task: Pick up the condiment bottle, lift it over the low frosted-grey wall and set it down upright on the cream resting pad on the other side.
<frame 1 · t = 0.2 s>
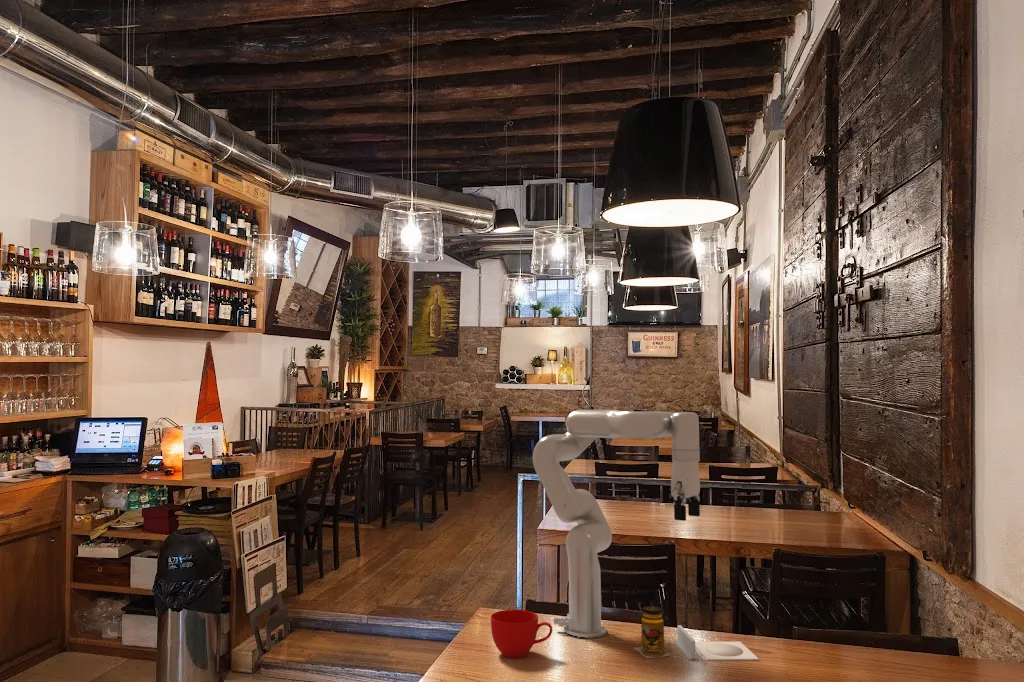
hand: (687, 517, 198), 36 cm above the table, tool pointing down, fingers open, 9 cm apart
low wall: (686, 651, 195), on the table
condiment: (652, 653, 195), on the table
resting pad: (724, 651, 196), on the table
ceramic cup: (521, 655, 193), on the table
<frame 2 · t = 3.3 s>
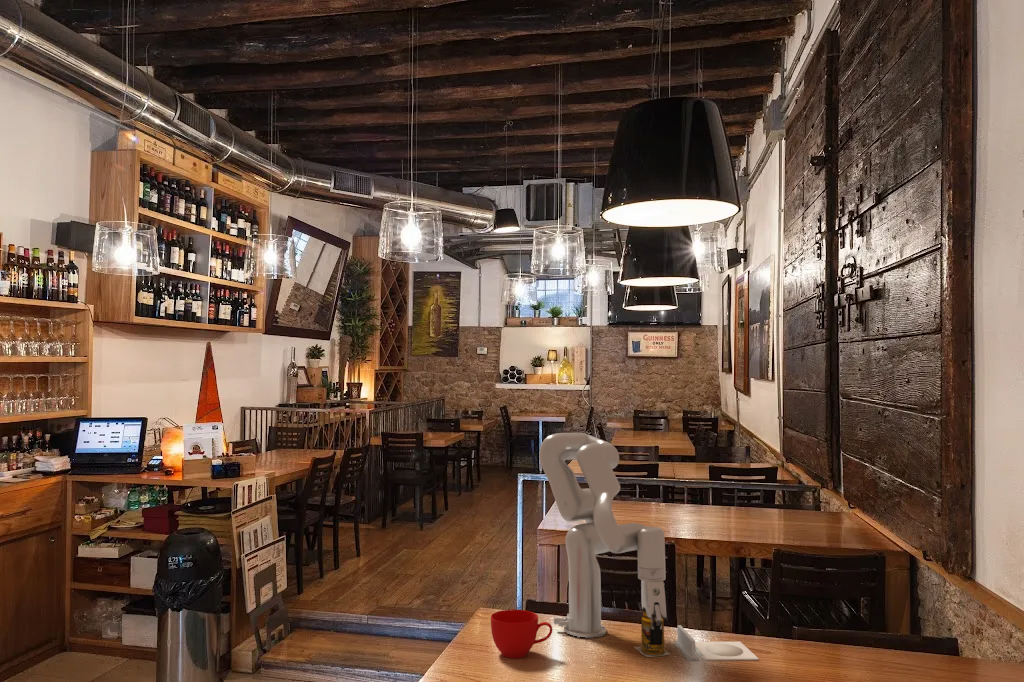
hand: (653, 639, 195), 3 cm above the table, tool pointing down, fingers closed on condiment, 6 cm apart
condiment: (652, 652, 195), on the table, touching gripper
everything else where it was.
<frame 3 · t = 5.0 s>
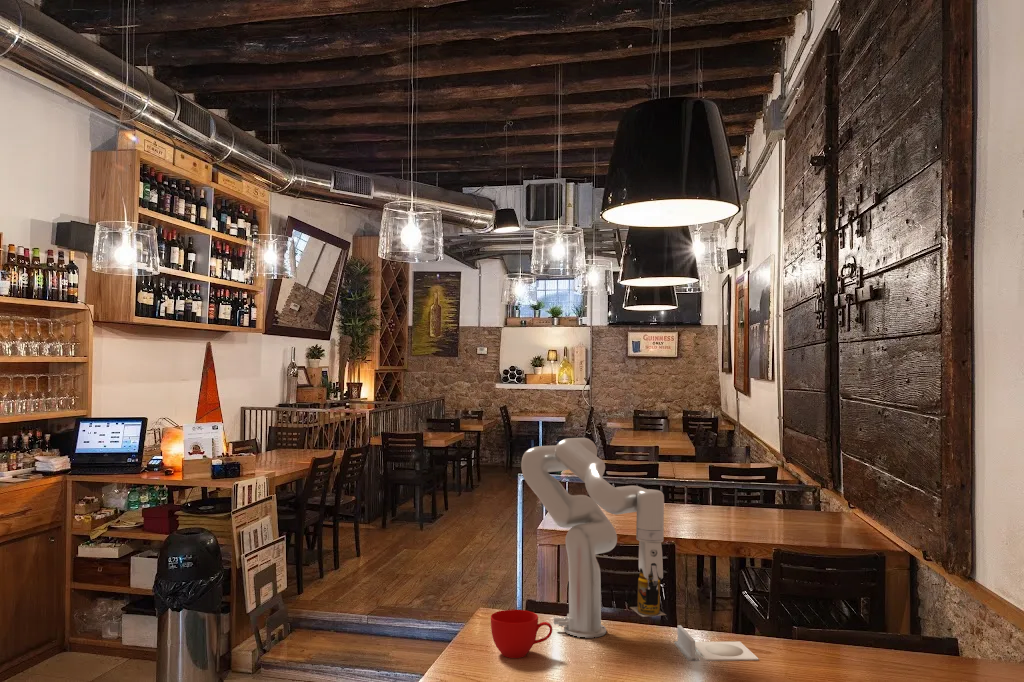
hand: (648, 600, 197), 14 cm above the table, tool pointing down, fingers closed on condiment, 6 cm apart
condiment: (647, 612, 197), point 10 cm above the table, touching gripper
everything else where it was.
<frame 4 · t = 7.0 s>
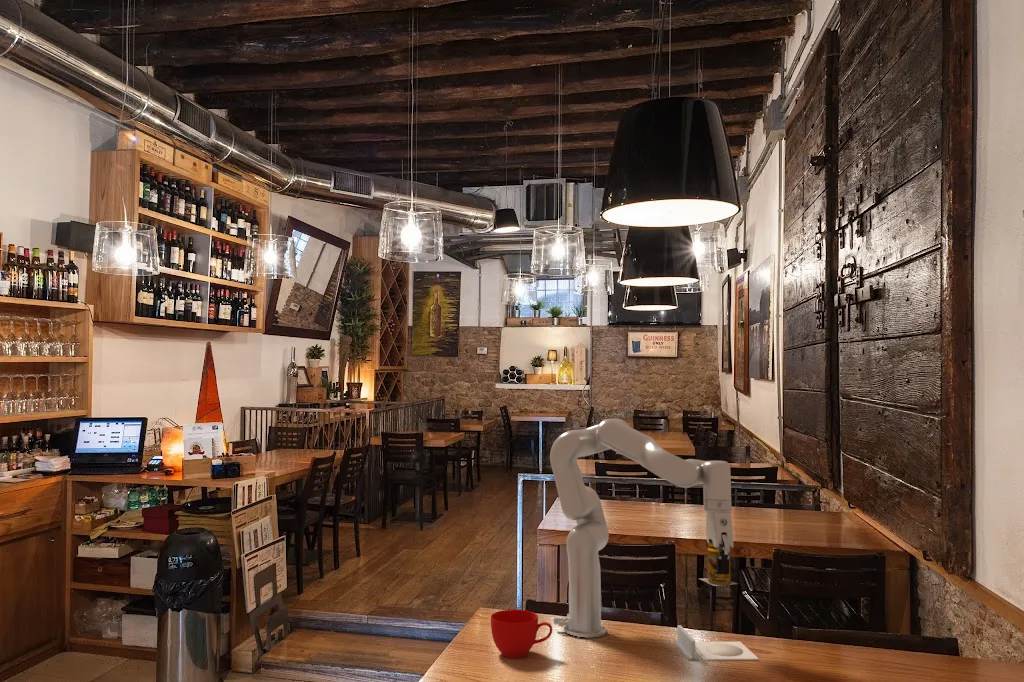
hand: (719, 570, 198), 22 cm above the table, tool pointing down, fingers closed on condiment, 6 cm apart
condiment: (718, 582, 198), point 18 cm above the table, touching gripper
everything else where it was.
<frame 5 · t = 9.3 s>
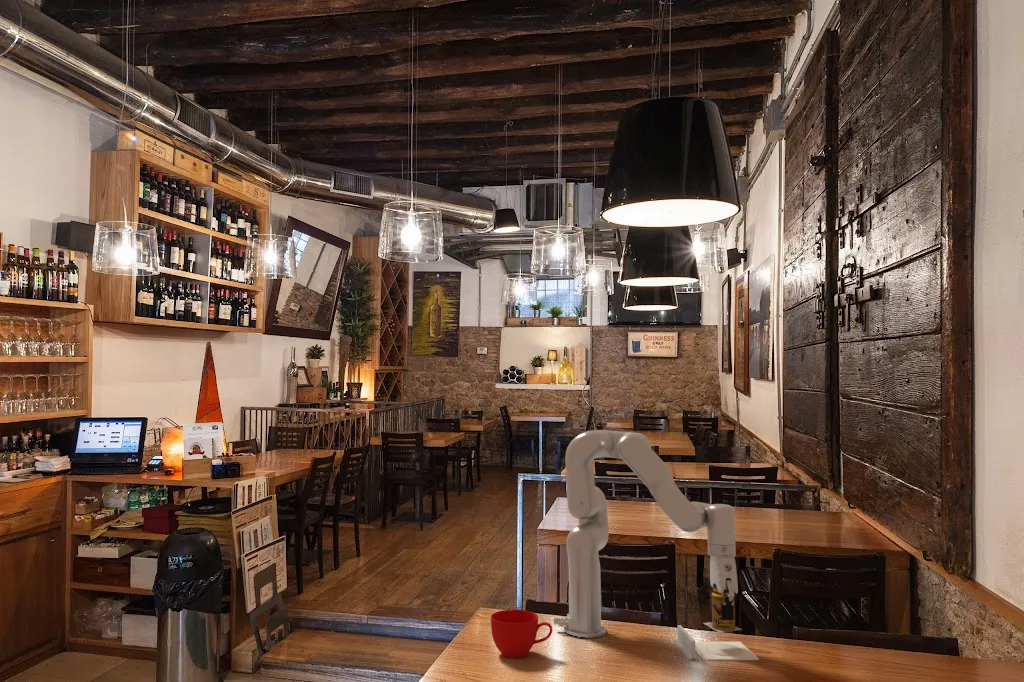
hand: (723, 615, 196), 10 cm above the table, tool pointing down, fingers closed on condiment, 6 cm apart
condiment: (722, 627, 197), point 6 cm above the table, touching gripper
everything else where it was.
when the fingers open (5 cm above the table, at t = 10.8 s): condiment drops 1 cm, resting on resting pad.
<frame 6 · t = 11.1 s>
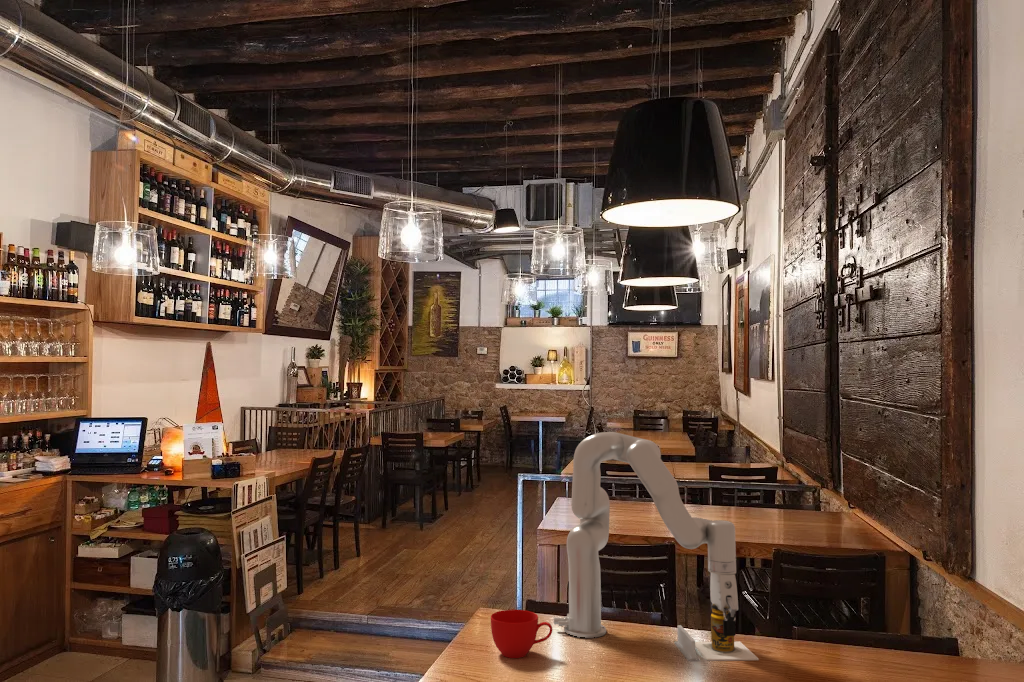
hand: (723, 629, 196), 6 cm above the table, tool pointing down, fingers open, 9 cm apart
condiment: (721, 649, 197), resting on resting pad
everything else where it was.
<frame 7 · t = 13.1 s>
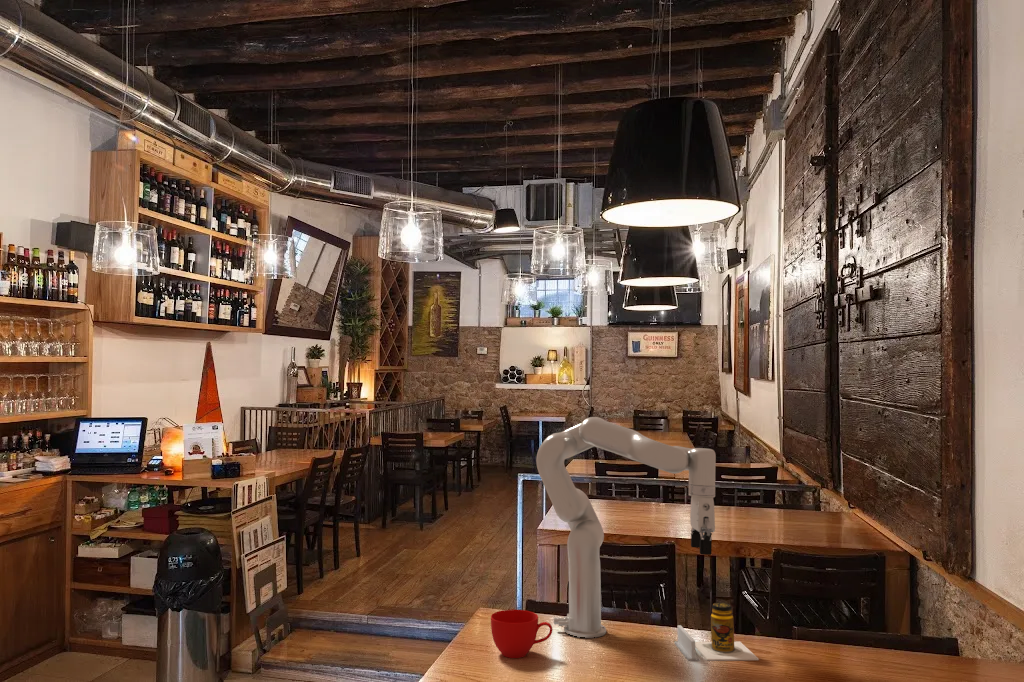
hand: (700, 550, 206), 26 cm above the table, tool pointing down, fingers open, 9 cm apart
nothing on the table moved.
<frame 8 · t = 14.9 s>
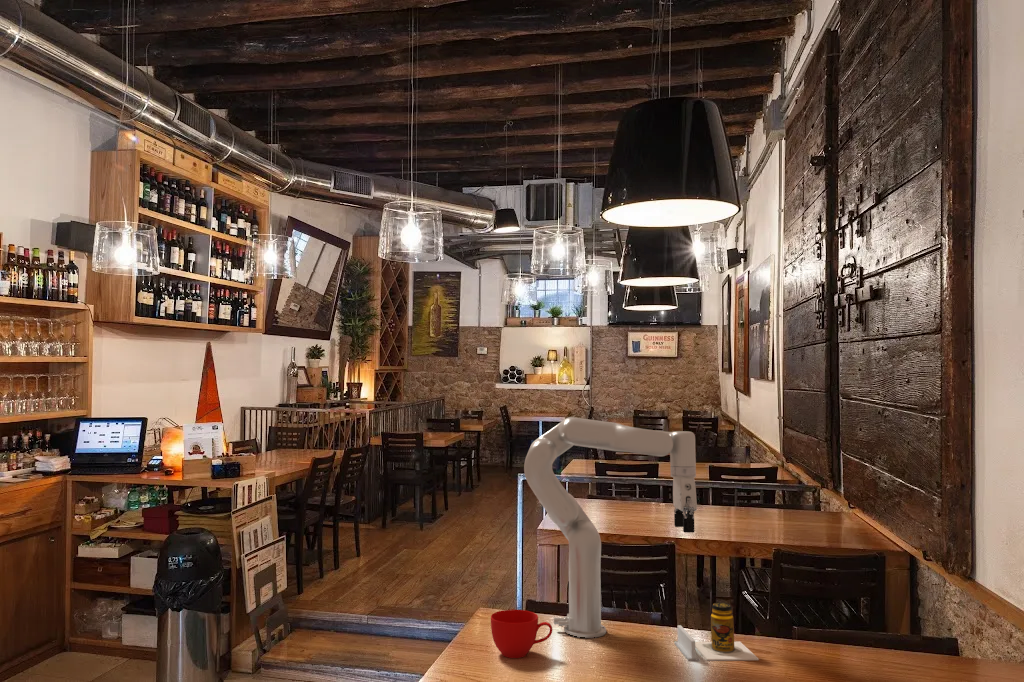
hand: (684, 529, 214), 30 cm above the table, tool pointing down, fingers open, 9 cm apart
nothing on the table moved.
at the end: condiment inside the target area on the resting pad (1.1 cm from its centre), point 0.3 cm above the resting pad's base; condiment tilted 0°; the gripper is holding nothing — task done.
